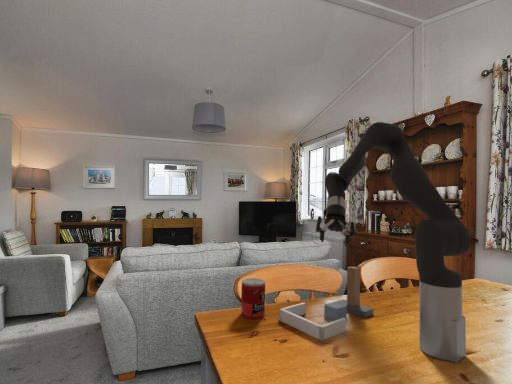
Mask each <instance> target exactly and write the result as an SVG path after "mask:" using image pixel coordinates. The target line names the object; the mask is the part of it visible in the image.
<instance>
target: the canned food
mask: <svg viewBox="0 0 512 384" xmlns="http://www.w3.org/2000/svg"><path fill="white" fill-rule="evenodd" d="M240 301H241V304H240V307H241V308H240V309H241V316H242V317H243V318H246V319H249V320H258V319H262V318H263V317H264V316H265V312H266V311H265V310H266V308H265V307H266V281H265V280H264V279H262V278H256V277H255V278H249V277H248V278H245V279H242V280H241V300H240Z"/></svg>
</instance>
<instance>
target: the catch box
mask: <svg viewBox="0 0 512 384" xmlns="http://www.w3.org/2000/svg"><path fill="white" fill-rule="evenodd" d="M306 304H307V303H306V302H301V303H296V304H293V305H289V306H285V307H282V308H279V309H278V310H279V311H278V312H279V313H278V314H279V316H278V317H279V318H278V321H280V322H281V323H284V324H286V325H288V326H291V327H292V328H295V329H297V330H299V331H300V332H303V333H305V334H306V335H309V336H311V337H313V338H315V339H316V340H319V341H321V342H322V341H324V340H327V339H330V338H332V337H335V336H337V335H339V334H341V333H344V332H346V331H347V317H346V318H344V317H343V318H341V319H338V320H332V321H329V322H327V323H325V324H322V325H321V324H319V323H316V322H315V321H312V320H309V319H308V318H305V317H303V315H306V313H307V312H306V311H307V310H306V309H307V308H306Z"/></svg>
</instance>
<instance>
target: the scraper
mask: <svg viewBox="0 0 512 384" xmlns="http://www.w3.org/2000/svg"><path fill="white" fill-rule="evenodd" d="M346 270H347V275H346V277H347V278H346V282H347V283H346V286H347V287H346V291H347V293H346V295H347V297H346V299H340V300H336V301H335V302H336V303H339V304H342V305H345V306H347V313H350V314H353V315H354V316H355V315H356V316H357V317H361V318H364V319H366V318H369V317H370V316H371V317H372V316H373V315H374V308H372V307H369V306H366V305H362V304H361V303H360V302H361V296H360V295H361V291H360V290H361V278H360V277H361V267H357V266H347V268H346Z"/></svg>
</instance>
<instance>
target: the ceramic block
mask: <svg viewBox="0 0 512 384" xmlns="http://www.w3.org/2000/svg"><path fill="white" fill-rule="evenodd" d="M323 305H324V308H323V309H324V310H323V311H324V312H323V313H324V316H325V318H328V319H330V320H332V321H335V320H338V319H341V318H343V317H344V318H346V319H347V313H348V312H347V306H345V305H342V304H339V303H336V301H332V302H328V303H326V304H323Z"/></svg>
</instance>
